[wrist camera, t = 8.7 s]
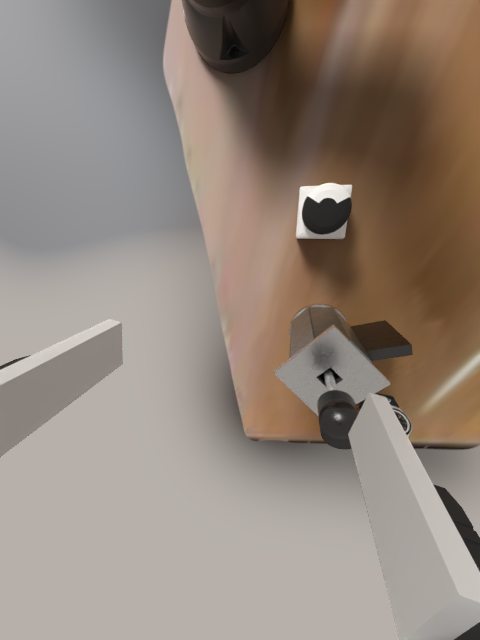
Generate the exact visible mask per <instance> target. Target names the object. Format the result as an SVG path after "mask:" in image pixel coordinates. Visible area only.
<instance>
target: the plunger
mask: <svg viewBox="0 0 480 640" xmlns="http://www.w3.org/2000/svg"><path fill="white" fill-rule="evenodd" d="M323 373H324V378H325V383H326V387H327V392H325V393H323V394H322V395H321V396H320V397H319V399H318V401H317V408H318V416H319V423H320V431H321V436H322V438H323V440H324V441H325V442H326V443H327V444H329V445H330V446H332V447H335V448H338V449H352V448H351V444H350V440H349V436H348V433H349V431H350V429H351V427H352V425H353V423H354V421H355V420H356V418H357V416H358V414H359V412H358V409H357V407H356V404H355V401H354V399H353V398H352V397H351V396H350V395H349V394H348V393H346V392H343V391H340V390H337V386H336V383H335V379H334V375H333V372H332V368H331V367H330V368H329V369H327V370H326V371H325V372H323Z"/></svg>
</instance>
